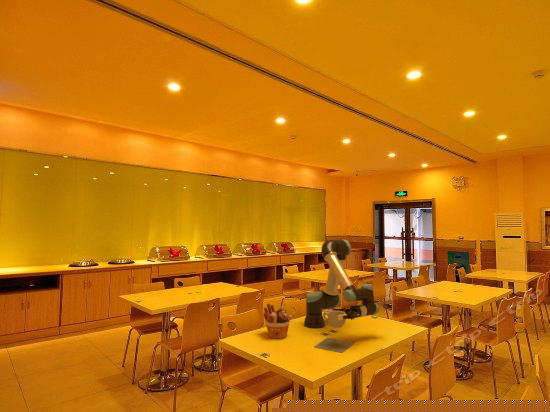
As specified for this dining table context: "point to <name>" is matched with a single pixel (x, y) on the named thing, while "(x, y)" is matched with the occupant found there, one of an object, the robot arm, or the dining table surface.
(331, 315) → the teacup
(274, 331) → the bucket of meat
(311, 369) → the dining table surface
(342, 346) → the placemat
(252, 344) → the dining table surface
